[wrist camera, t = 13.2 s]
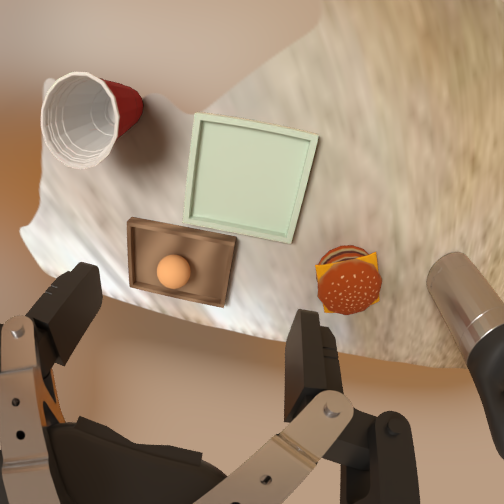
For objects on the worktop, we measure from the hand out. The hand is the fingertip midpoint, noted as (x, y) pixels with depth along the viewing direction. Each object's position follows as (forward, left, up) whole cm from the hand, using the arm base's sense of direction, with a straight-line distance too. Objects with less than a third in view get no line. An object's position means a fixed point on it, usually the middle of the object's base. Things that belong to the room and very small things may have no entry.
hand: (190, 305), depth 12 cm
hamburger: (-17, +15, -30) cm, 38 cm away
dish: (0, +4, -30) cm, 30 cm away
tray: (+8, +19, -30) cm, 36 cm away
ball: (+8, +19, -30) cm, 36 cm away
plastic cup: (+18, -3, -30) cm, 35 cm away
